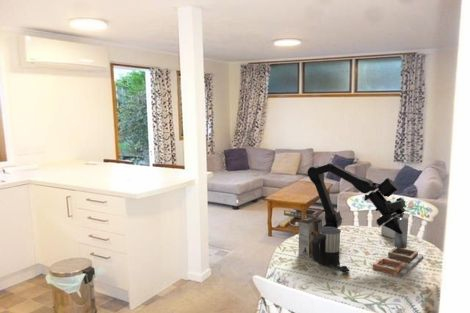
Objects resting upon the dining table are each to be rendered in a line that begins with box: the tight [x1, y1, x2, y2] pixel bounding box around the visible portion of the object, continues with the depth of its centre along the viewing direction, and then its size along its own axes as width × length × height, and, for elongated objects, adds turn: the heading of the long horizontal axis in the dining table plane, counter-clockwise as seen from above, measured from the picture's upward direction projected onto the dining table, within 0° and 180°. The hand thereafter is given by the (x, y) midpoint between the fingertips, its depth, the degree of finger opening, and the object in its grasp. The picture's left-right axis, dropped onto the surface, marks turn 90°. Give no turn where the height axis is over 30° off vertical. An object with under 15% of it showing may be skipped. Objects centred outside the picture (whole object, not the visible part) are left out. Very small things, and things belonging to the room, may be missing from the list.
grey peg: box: [393, 216, 409, 249], centre depth 160 cm, size 5×5×12 cm
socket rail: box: [372, 246, 424, 278], centre depth 157 cm, size 27×12×2 cm, turn 137°
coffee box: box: [298, 216, 323, 259], centre depth 167 cm, size 9×6×16 cm
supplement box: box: [380, 223, 395, 239], centre depth 191 cm, size 7×7×13 cm
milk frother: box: [311, 226, 350, 274], centre depth 153 cm, size 14×16×15 cm
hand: (404, 232), depth 159 cm, fingers closed on grey peg, 5 cm apart
